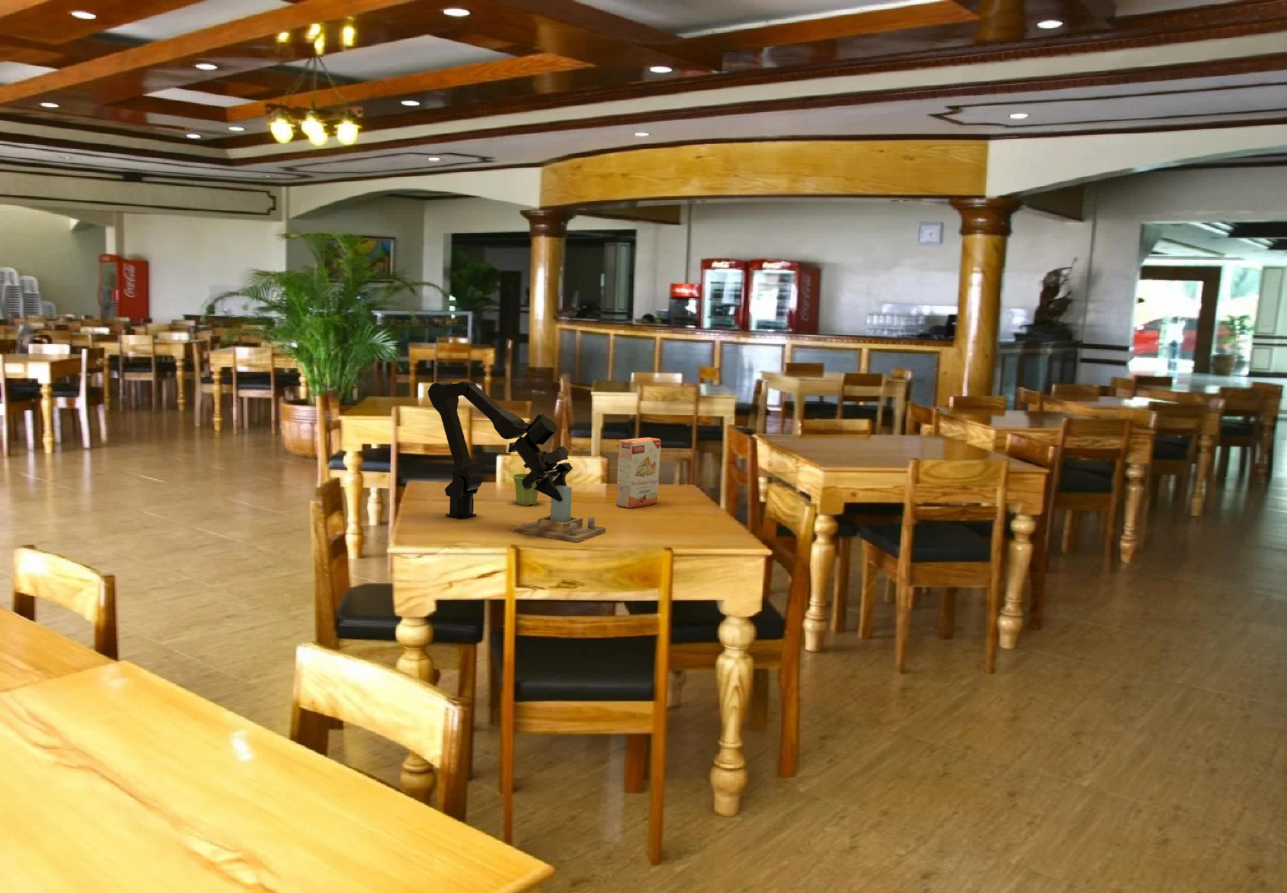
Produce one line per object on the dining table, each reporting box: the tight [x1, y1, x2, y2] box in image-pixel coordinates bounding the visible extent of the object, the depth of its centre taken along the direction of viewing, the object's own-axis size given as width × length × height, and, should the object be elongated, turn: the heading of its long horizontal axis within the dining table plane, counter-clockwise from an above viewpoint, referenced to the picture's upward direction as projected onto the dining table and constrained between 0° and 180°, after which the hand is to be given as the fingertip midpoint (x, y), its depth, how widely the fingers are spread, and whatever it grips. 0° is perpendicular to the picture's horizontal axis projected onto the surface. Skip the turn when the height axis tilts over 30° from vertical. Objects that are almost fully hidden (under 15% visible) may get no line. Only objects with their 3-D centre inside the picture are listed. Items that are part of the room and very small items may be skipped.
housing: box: [512, 514, 607, 543], centre depth 295 cm, size 20×16×4 cm
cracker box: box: [615, 436, 662, 509], centre depth 337 cm, size 14×6×21 cm, turn 140°
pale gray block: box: [550, 485, 573, 523], centre depth 295 cm, size 4×4×10 cm
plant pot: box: [512, 472, 539, 506], centre depth 332 cm, size 9×9×9 cm
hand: (565, 499), depth 294 cm, fingers closed on pale gray block, 4 cm apart
